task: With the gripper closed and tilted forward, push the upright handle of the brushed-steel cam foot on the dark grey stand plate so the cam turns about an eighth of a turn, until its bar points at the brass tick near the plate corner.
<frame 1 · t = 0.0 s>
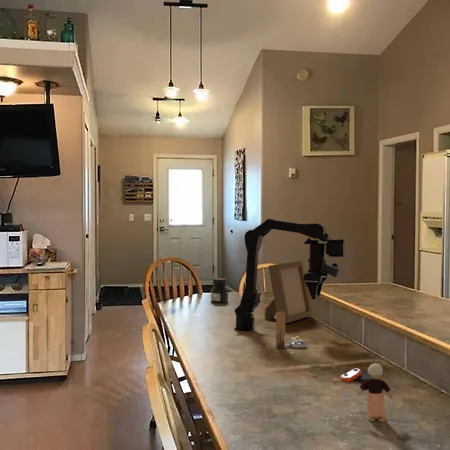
hand: (316, 297, 199), 15 cm above the table, fingers open, 9 cm apart
grandmother figurine: (374, 419, 119), on the table
stand plate: (296, 348, 180), on the table
photo frame: (285, 319, 231), on the table
multimeter: (344, 383, 146), on the table
ink bottle: (219, 302, 272), on the table
cam: (291, 329, 179), point 7 cm above the table, hinge at 0.0°
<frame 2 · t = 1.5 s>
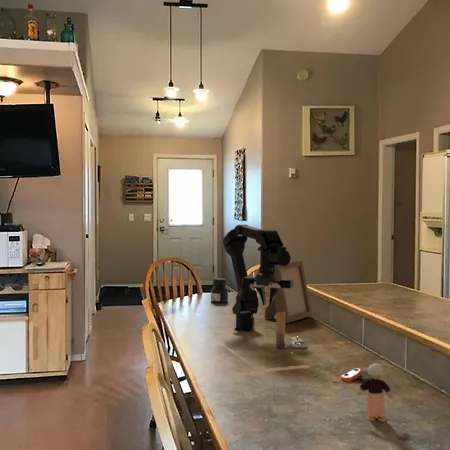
hand: (267, 305, 195), 12 cm above the table, fingers closed
nothing on the table moved.
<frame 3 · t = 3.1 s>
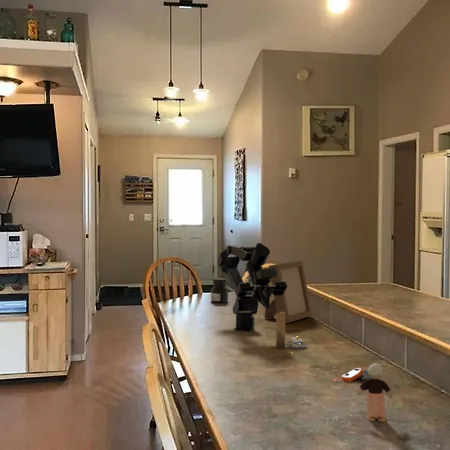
hand: (267, 308, 188), 12 cm above the table, fingers closed
nothing on the table moved.
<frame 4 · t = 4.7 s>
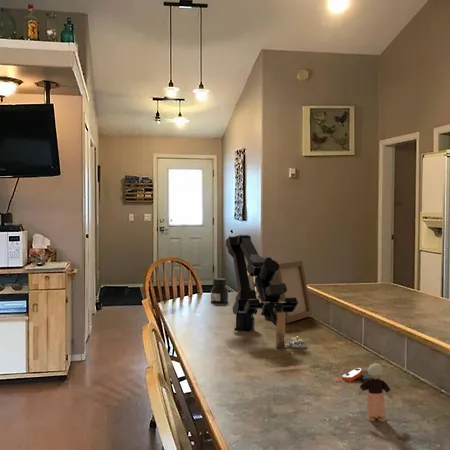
hand: (278, 325, 179), 8 cm above the table, fingers closed, pressing on cam
cam: (291, 329, 179), point 7 cm above the table, hinge at 0.0°, touching gripper
everything else where it was.
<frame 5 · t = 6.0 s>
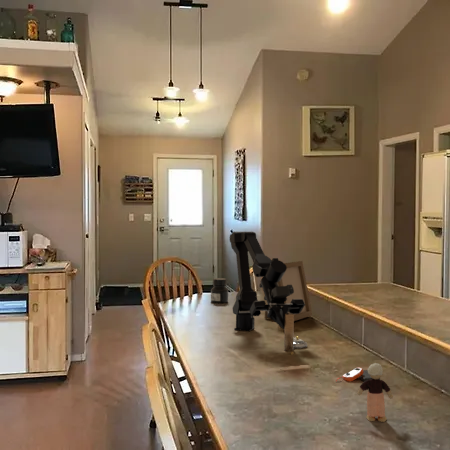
hand: (284, 328, 176), 8 cm above the table, fingers closed, pressing on cam
cam: (294, 330, 178), point 7 cm above the table, hinge at 38.6°, touching gripper
everything else where it was.
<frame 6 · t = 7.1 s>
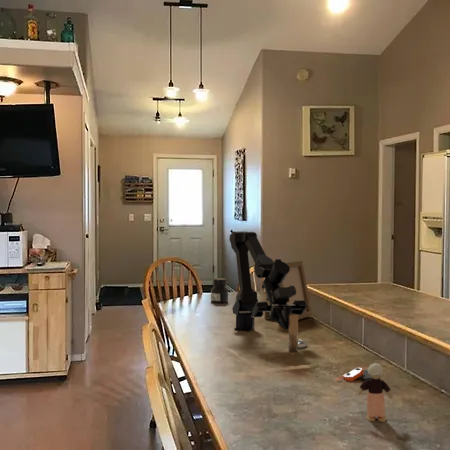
hand: (286, 329, 176), 7 cm above the table, fingers closed
cam: (295, 330, 178), point 7 cm above the table, hinge at 52.5°
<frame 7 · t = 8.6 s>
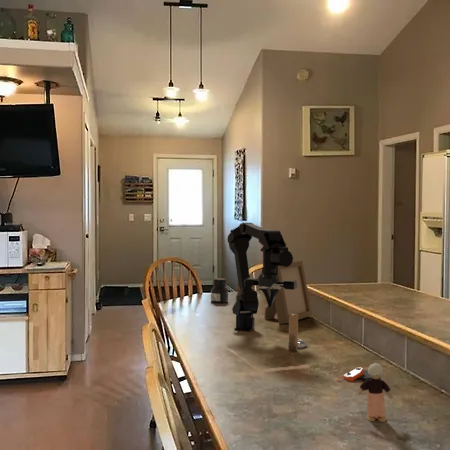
hand: (270, 307, 192), 12 cm above the table, fingers closed
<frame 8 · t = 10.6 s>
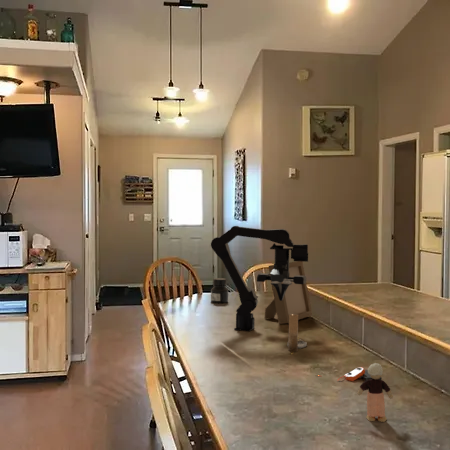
hand: (281, 300, 207), 12 cm above the table, fingers closed
at the end: cam at +52° (first picture: +0°) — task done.
